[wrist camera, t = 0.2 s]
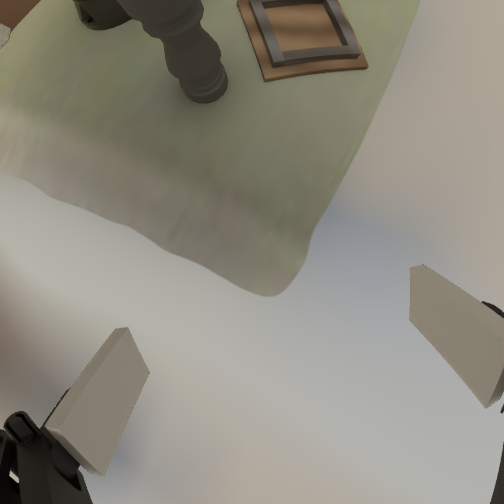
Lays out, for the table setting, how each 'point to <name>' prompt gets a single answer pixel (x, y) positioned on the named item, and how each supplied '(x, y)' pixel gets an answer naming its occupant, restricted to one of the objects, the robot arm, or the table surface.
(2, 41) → the ink box
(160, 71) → the table surface
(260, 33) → the socket plate
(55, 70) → the table surface
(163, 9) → the candle holder
